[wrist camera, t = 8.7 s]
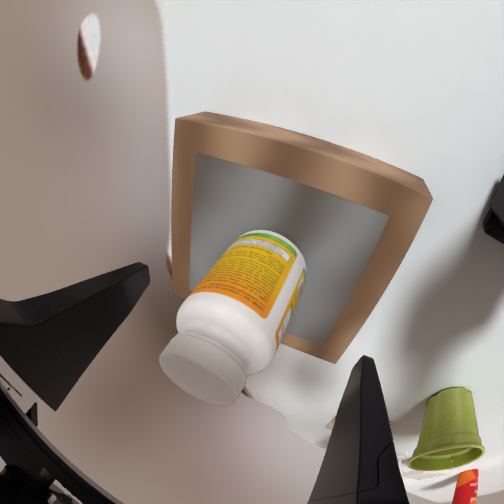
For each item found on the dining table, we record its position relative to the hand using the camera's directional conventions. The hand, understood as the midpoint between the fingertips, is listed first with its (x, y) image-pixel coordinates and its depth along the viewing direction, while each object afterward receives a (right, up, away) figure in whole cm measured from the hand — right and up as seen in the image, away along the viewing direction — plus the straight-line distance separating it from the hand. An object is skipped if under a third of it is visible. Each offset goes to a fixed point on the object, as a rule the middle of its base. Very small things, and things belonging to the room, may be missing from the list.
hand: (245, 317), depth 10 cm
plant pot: (+25, -16, +14) cm, 32 cm away
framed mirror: (+3, +4, +12) cm, 13 cm away
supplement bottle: (+1, +2, +9) cm, 9 cm away
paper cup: (+53, -51, +24) cm, 77 cm away
